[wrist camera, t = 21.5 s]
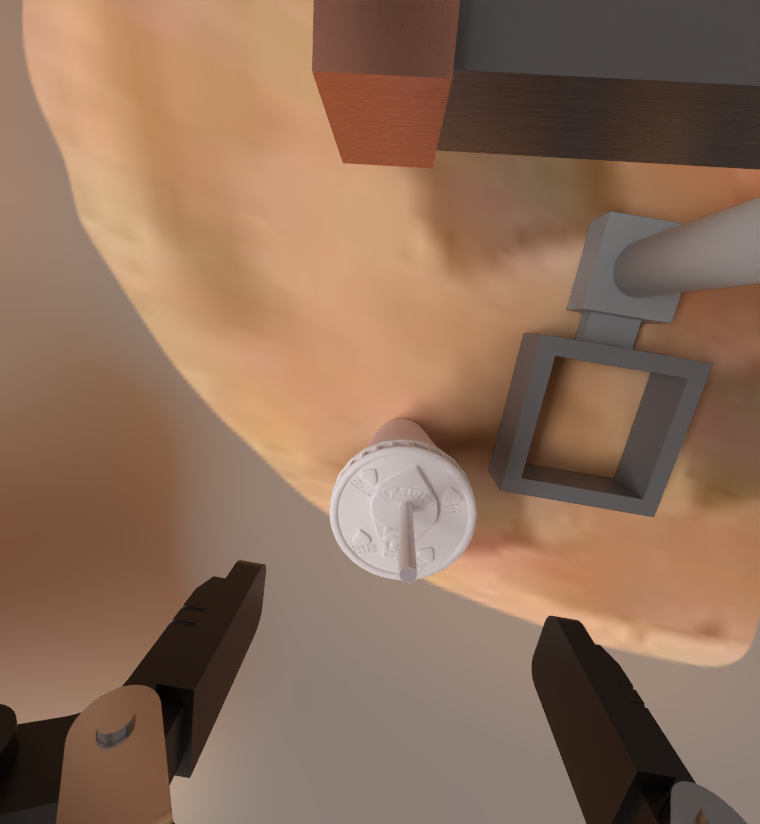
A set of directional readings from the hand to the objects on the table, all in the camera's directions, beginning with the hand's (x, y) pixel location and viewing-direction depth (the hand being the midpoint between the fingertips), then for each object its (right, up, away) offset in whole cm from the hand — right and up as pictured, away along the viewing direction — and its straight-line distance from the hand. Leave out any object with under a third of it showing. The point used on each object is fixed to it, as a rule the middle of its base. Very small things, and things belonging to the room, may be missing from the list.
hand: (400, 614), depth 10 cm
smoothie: (+1, +4, +15) cm, 15 cm away
